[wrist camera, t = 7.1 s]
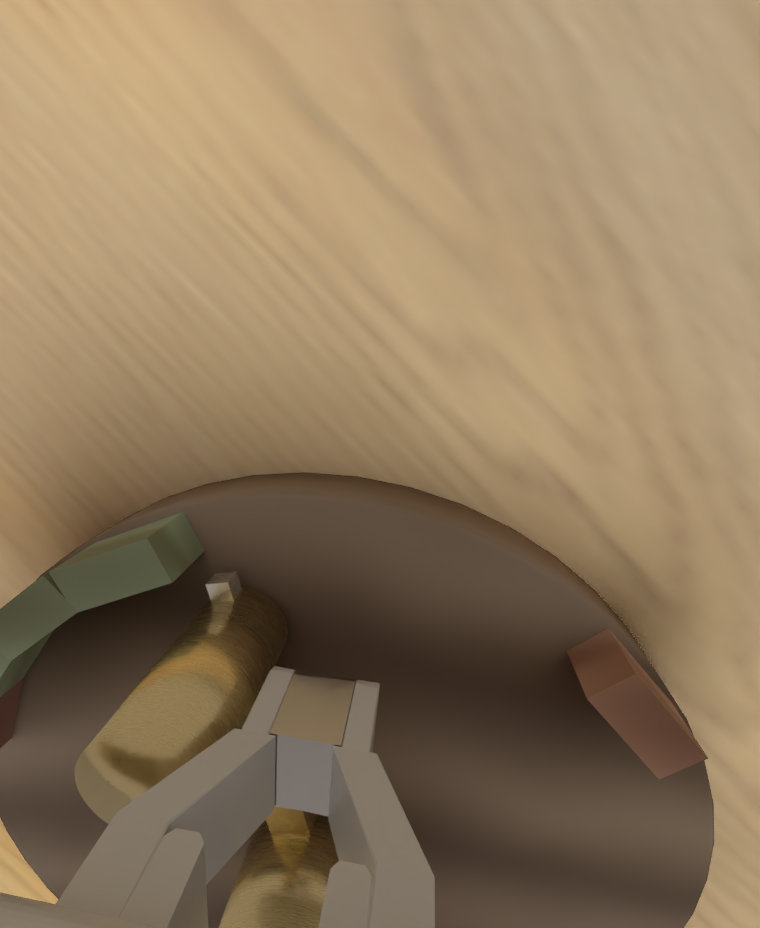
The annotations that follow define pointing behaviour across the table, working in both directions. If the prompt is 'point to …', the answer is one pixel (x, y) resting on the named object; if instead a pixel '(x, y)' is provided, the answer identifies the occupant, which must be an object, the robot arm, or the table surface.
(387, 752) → the dial base
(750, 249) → the table surface
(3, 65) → the table surface
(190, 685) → the brass dumbbell
